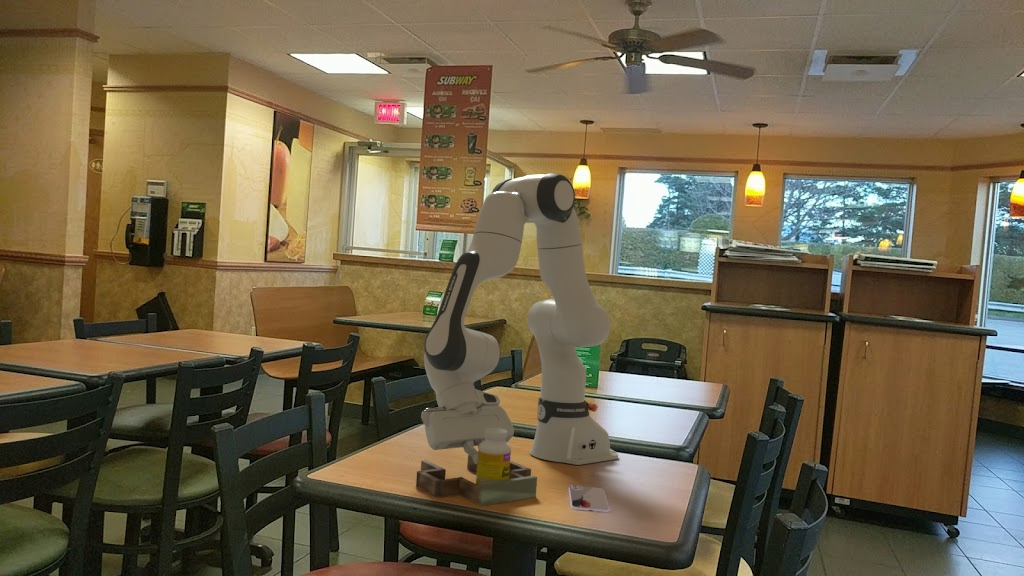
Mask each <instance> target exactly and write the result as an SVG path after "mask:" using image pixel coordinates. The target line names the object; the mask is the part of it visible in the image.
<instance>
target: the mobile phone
mask: <svg viewBox="0 0 1024 576" xmlns="http://www.w3.org/2000/svg"><path fill="white" fill-rule="evenodd" d="M568 494H569V501H570V503H569V504H570V508H571V509H572V510H575V511H583V512H585V511H586V512H594V513H595V512H598V513H610V507H609V502H608V500H607V496H606V493H605V490H604V489H603V487H597V486H596V487H594V486H584V485H583V486H581V485H574V484H573V485H569V487H568Z"/></svg>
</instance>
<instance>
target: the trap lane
mask: <svg viewBox="0 0 1024 576" xmlns="http://www.w3.org/2000/svg"><path fill="white" fill-rule="evenodd" d="M420 461H421V462H420V470H417V471H416V479H415V480H416V482H415V483H416V484H415V486H416V487H417V486H418V488H419V487H420V488H419V489H421V490H423V491H424V492H427V493H429V494H430V495H432V496H434V497H435V498H442V497H443V498H444V497H449V496H457V495H459V496H462V497H464V498H466V499H467V500H469V501H471V502H473V503H475V504H477V505H479V506H481V507H484V506H490V505H495V504H496V505H497V504H501V503H507V502H513V501H518V500H524V499H530V498H535V497H537V486H538V476H536V475H532V468H530V467H527V466H524V465H522V464H519V463H517V462H515V461H512V460H510V471H509V479H507V480H500V481H494V482H487V483H480V485H477V484H476V482H473V481H471V480H469V479H467V478H464V477H462V476H461V477H453V478H446V474H447V473H446V471H447V470H446V468H444V467H442V466H440V465H437V464H435V463H433V462H431V461H430V460H427V459H424V460H420ZM466 468H467V469H468V470H470V471H472V472H475V473H477V464H475V463H474V461H473V459H472V457H471V456H469V455H468V454H467V467H466Z"/></svg>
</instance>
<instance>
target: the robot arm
mask: <svg viewBox="0 0 1024 576" xmlns="http://www.w3.org/2000/svg"><path fill="white" fill-rule="evenodd" d="M495 185H496V186H494V188H493V189H492V192H490V193H489V194H488V195H487V196H486V197H485V199H484V201H483V203H482V206H481V208H480V210H479V214H478V217H477V220H476V224H475V226H474V232H473V236H472V240H471V243H470V245H469V247H468V249H467V251H466V252H464V253H463V254H461V255H460V256H459V258H457V261H456V262H455V265H454V267H453V270H452V272H451V275H450V276H449V277H450V278H449V280H448V283H447V285H446V288H445V292H444V295H443V297H442V301H441V303H440V306H439V309H438V312H437V313H436V317H435V319H434V321H433V323H432V324H431V327H430V328H429V330H428V332H427V334H426V337H425V338H424V339H425V340H424V345H423V346H424V352H423V353H424V355H423V363H424V364H423V365H424V369H425V373H426V376H427V379H428V382H429V384H430V386H431V388H432V390H433V391H434V392H435V393H434V394H435V398H436V403H437V405H438V407H427V408H425V409H424V410H422V412H421V415H420V417H421V421H422V424H423V425H424V430H425V436H426V440H427V444H428V445H429V447H430V448H431V449H432V450H433V451H438V450H440V451H441V450H448V449H451V450H452V449H460V448H463V451H464V453H466V454H467V456H468V455H469V456H471V457H472V459H473V461H474V463H475V464H477V462H478V449H476V448H475V447H477V448H478V447H479V444H480V443H481V442H482V441H485V437H484V431H485V429H487V428H500V429H504V430H507V437H506V443H508V442H509V441H511V439H512V437H514V433H515V429H514V425H513V424H512V421H511V420H510V417H509V415H508V413H507V412H506V410H505V409H504V408H503V407H502V406H500V404H501V399H500V397H499V396H498V395H496V394H493V393H489V392H485V391H483V390H479V389H476V388H475V385H474V383H475V382H477V381H480V380H482V379H484V378H485V377H487V376H488V375H490V374H491V373H493V372H494V371H495V370H496V368H497V367H498V365H499V364H500V361H501V353H502V351H501V345H500V343H499V341H498V339H497V338H496V337H495V336H493V335H491V334H488V333H486V332H482V331H480V330H477V329H476V330H475V329H471V328H468V327H465V319H466V316H467V313H468V311H469V307H470V304H471V301H472V299H473V297H474V296H473V295H474V292H475V290H476V288H477V287H478V286H479V285H480V284H481V283H482V282H485V281H487V280H494V279H499V278H503V277H504V276H506V275H508V274H509V273H511V272H512V271H513V270H514V269H515V268H516V265H517V263H518V261H519V258H520V254H521V248H522V243H523V239H524V238H523V237H524V231H525V230H524V229H525V224H528V223H529V224H530V223H533V224H534V225H535V227H536V245H537V246H536V247H537V254H538V255H537V256H538V257H537V258H538V267H539V275H540V276H539V277H540V278H541V281H542V283H543V284H544V285H545V286H546V287H547V288H548V289H549V291H550V293H551V295H552V298H550V299H545V300H544V299H543V300H540V301H537V302H535V303H533V305H532V306H531V307H530V308H529V310H528V313H527V316H526V317H527V318H526V319H527V320H526V323H527V327H528V329H529V331H530V333H532V335H533V336H534V338H535V341H536V345H537V347H538V351H539V356H540V365H541V379H540V380H541V382H540V383H541V384H540V396H539V397H538V402H537V424H536V430H535V435H534V439H533V442H532V445H531V449H530V451H529V454H530V455H531V456H533V457H535V458H537V459H542V460H545V461H551V462H554V463H555V462H556V463H566V464H570V465H577V466H581V465H586V464H593V463H599V462H606V461H613V460H618V459H619V453H618V452H617V451H615V450H613V449H612V448H611V446H610V444H611V443H610V437H609V433H608V431H607V430H606V429H605V428H604V427H603V426H602V425H600V424H599V423H598V422H597V421H596V420H595V419H594V418H593V417H592V416H591V414H590V411H591V412H593V413H594V412H597V411H598V408H599V406H598V404H596V403H593V402H590V403H589V402H588V401H586V400H585V398H586V397H585V396H586V395H585V394H586V383H587V382H586V380H587V379H586V378H587V369H586V368H585V366H584V364H583V363H582V361H581V360H580V358H579V356H578V353H577V348H576V347H578V348H587V347H588V348H589V347H591V348H592V347H596V346H599V345H601V344H603V343H604V342H605V341H606V340H607V339H608V337H609V335H610V332H611V319H610V316H609V313H608V312H607V310H605V308H603V307H602V305H601V304H600V303H599V302H598V301H597V299H596V296H595V294H594V293H593V291H592V288H591V286H590V282H589V280H588V277H587V273H586V268H585V267H586V266H585V259H584V251H583V244H582V243H583V241H582V233H581V227H580V223H579V220H578V216H577V215H578V214H577V212H576V210H575V207H574V205H575V201H576V193H575V189H574V186H573V184H572V182H571V181H570V180H569V178H568V177H566V176H565V175H564V174H560V173H555V172H554V173H552V172H551V173H550V172H549V173H547V174H545V173H544V174H541V173H540V174H539V173H538V174H537V173H536V174H527V175H525V176H520V177H515V178H508V179H504V180H503V181H500V182H498V183H497V184H495Z"/></svg>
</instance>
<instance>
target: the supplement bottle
mask: <svg viewBox="0 0 1024 576" xmlns="http://www.w3.org/2000/svg"><path fill="white" fill-rule="evenodd" d="M484 437H485V441H482V442H481V443H480V444H479V447H478V446H477V448H478V449H477V451H478V462H477V472H476V478H475V484H477V485H480V483H487V482H494V481H500V480H507V479H509V471H510V461H511V453H512V447H511V445H510V444H509V443H508V442H507V443H506V437H507V430H504V429H500V428H487V429H485V431H484Z"/></svg>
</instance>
